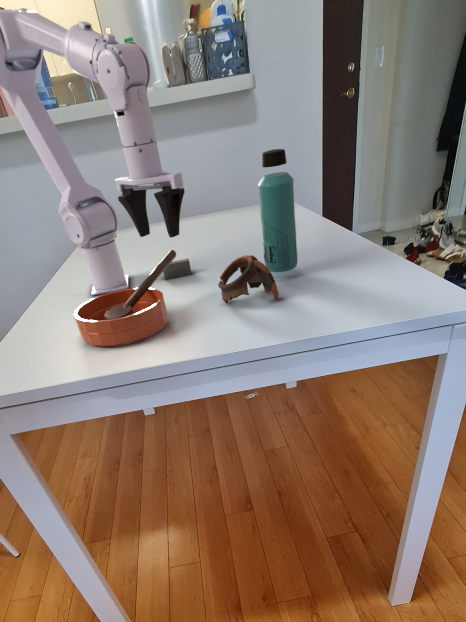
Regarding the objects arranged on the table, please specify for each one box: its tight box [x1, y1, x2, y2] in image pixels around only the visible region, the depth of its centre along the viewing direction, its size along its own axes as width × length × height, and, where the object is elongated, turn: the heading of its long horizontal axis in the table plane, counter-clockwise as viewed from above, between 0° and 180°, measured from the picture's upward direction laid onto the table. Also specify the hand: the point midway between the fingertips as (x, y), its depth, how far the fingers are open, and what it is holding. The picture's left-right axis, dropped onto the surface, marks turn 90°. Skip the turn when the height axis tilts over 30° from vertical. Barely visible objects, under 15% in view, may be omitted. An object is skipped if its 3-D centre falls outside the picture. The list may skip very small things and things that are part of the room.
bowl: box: [73, 287, 169, 347], centre depth 78 cm, size 15×15×4 cm
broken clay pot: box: [217, 254, 280, 304], centre depth 81 cm, size 12×10×8 cm
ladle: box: [104, 249, 177, 320], centre depth 80 cm, size 19×5×6 cm, turn 145°
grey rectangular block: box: [162, 258, 192, 280], centre depth 99 cm, size 2×6×3 cm, turn 100°
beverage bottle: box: [257, 148, 299, 273], centre depth 83 cm, size 6×7×20 cm
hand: (159, 235), depth 85 cm, fingers open, 7 cm apart
